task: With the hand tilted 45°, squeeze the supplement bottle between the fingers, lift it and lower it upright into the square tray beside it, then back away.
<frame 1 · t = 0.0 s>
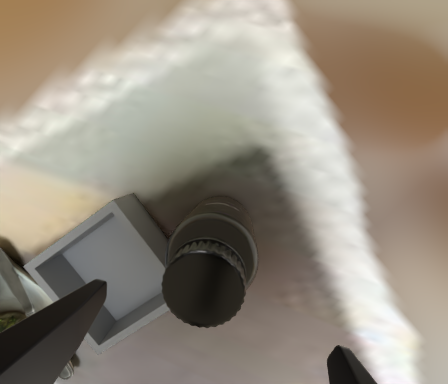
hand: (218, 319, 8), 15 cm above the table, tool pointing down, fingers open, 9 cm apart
square tray: (125, 262, 25), on the table
supplement bottle: (219, 225, 24), on the table
salad plate: (4, 311, 27), on the table
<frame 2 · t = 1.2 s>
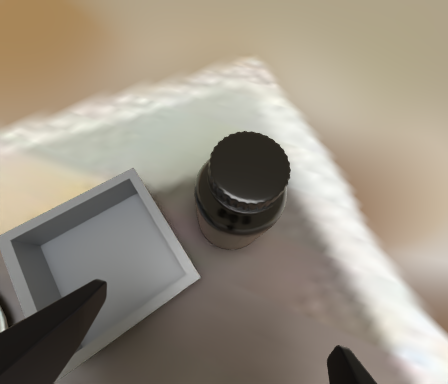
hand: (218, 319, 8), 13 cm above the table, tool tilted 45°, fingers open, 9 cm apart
square tray: (117, 261, 21), on the table
supplement bottle: (229, 218, 24), on the table
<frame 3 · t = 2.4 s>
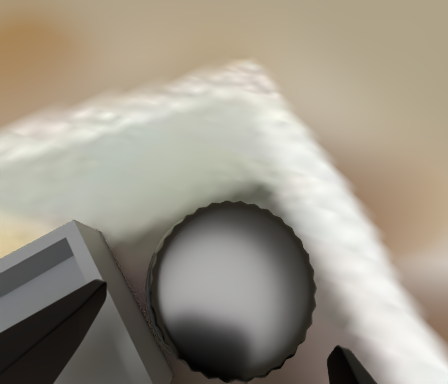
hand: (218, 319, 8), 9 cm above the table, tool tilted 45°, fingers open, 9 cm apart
square tray: (52, 351, 15), on the table
supplement bottle: (215, 279, 17), on the table
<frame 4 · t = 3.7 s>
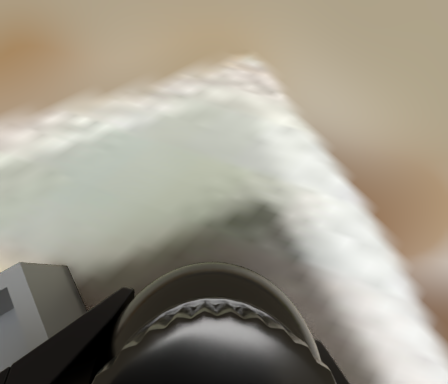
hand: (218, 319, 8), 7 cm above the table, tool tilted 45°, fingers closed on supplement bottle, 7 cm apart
supplement bottle: (207, 325, 14), on the table, touching gripper
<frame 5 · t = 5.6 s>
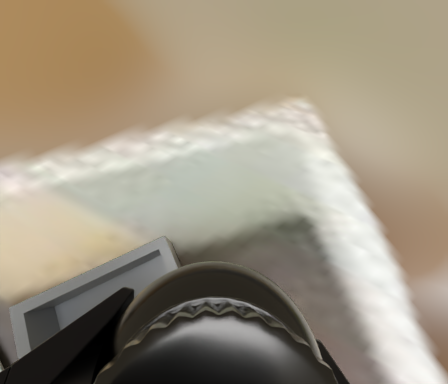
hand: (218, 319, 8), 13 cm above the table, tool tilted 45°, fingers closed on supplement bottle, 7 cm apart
square tray: (133, 332, 19), on the table
supplement bottle: (208, 324, 14), point 6 cm above the table, touching gripper
when the fingers open (8 cm above the table, at t = 7.8 s): supplement bottle drops 1 cm, resting on square tray.
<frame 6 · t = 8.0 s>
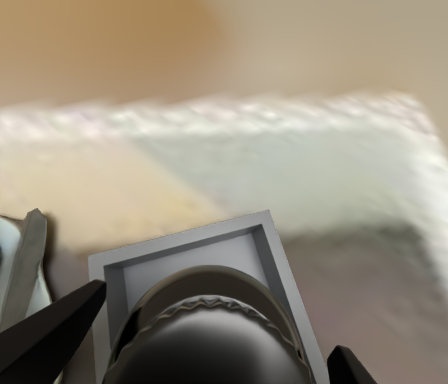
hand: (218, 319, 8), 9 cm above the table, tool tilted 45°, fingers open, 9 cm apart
square tray: (206, 319, 16), on the table
supplement bottle: (207, 322, 15), resting on square tray
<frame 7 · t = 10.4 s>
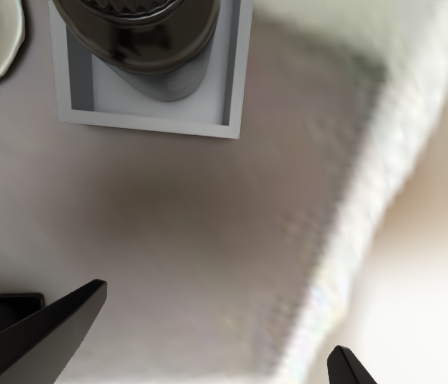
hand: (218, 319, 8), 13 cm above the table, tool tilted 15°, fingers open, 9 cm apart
square tray: (163, 55, 17), on the table
supplement bottle: (163, 55, 17), resting on square tray
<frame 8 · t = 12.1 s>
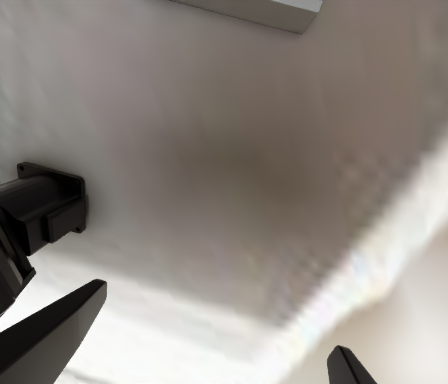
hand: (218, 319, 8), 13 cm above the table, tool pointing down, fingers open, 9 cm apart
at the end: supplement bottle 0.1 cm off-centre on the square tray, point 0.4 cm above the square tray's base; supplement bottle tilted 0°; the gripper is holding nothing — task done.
